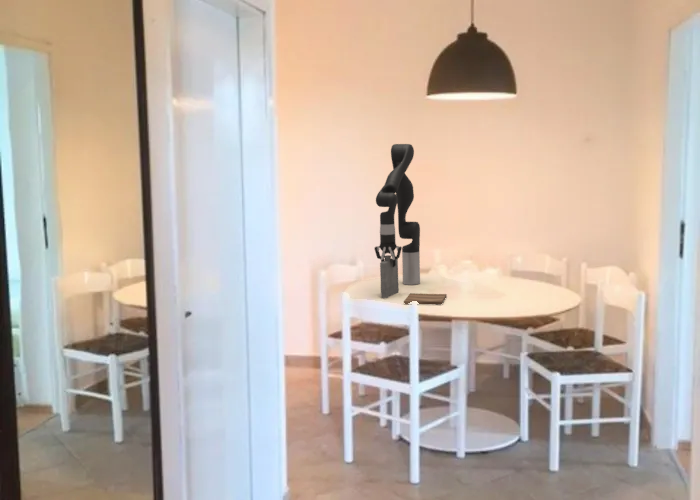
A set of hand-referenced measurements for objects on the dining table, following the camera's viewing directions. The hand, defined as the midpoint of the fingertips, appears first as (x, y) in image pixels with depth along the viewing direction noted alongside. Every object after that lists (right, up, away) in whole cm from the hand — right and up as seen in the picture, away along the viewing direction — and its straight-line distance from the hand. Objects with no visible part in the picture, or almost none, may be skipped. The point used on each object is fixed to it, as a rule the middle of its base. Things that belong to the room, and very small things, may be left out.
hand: (388, 266), depth 397 cm
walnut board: (+17, -16, -13) cm, 27 cm away
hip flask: (0, -14, +2) cm, 15 cm away
